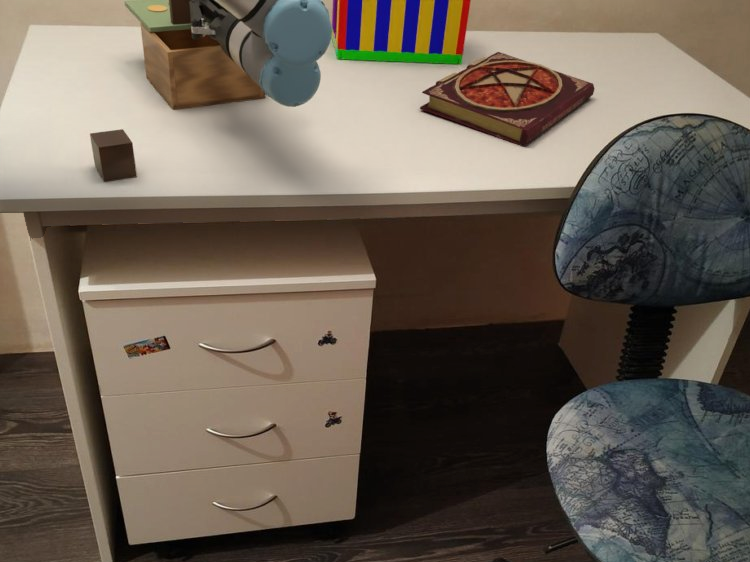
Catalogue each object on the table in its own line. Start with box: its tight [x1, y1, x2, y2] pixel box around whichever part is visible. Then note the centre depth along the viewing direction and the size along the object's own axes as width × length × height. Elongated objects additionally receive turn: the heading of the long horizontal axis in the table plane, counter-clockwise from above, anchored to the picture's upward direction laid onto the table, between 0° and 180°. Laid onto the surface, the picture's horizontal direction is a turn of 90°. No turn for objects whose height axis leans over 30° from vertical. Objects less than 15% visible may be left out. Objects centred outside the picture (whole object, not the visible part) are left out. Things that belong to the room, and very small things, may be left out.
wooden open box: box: [139, 22, 266, 110], centre depth 133 cm, size 16×14×9 cm
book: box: [419, 51, 595, 147], centre depth 141 cm, size 28×21×5 cm
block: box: [89, 128, 138, 183], centre depth 110 cm, size 4×4×5 cm
